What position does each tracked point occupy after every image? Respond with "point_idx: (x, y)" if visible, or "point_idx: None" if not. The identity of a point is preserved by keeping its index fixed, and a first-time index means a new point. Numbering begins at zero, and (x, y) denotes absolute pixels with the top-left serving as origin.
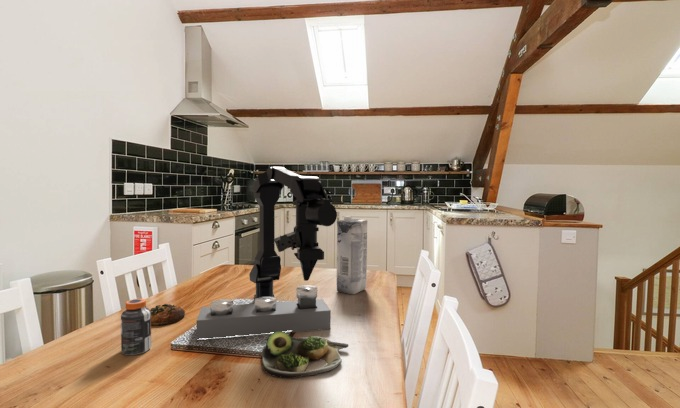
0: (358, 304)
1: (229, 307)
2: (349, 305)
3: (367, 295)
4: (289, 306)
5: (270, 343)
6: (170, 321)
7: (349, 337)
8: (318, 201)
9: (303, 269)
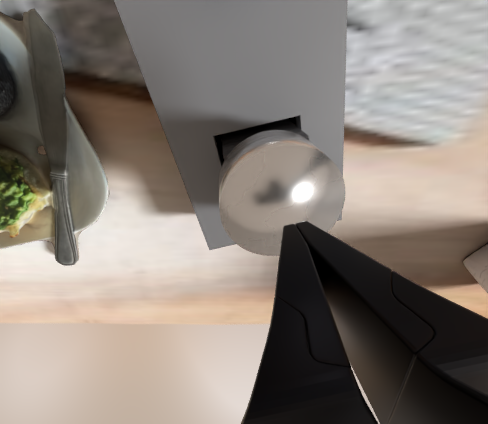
0: None
1: None
2: (383, 252)
3: (440, 286)
4: (256, 81)
5: None
6: None
7: (160, 255)
8: None
9: (275, 303)
